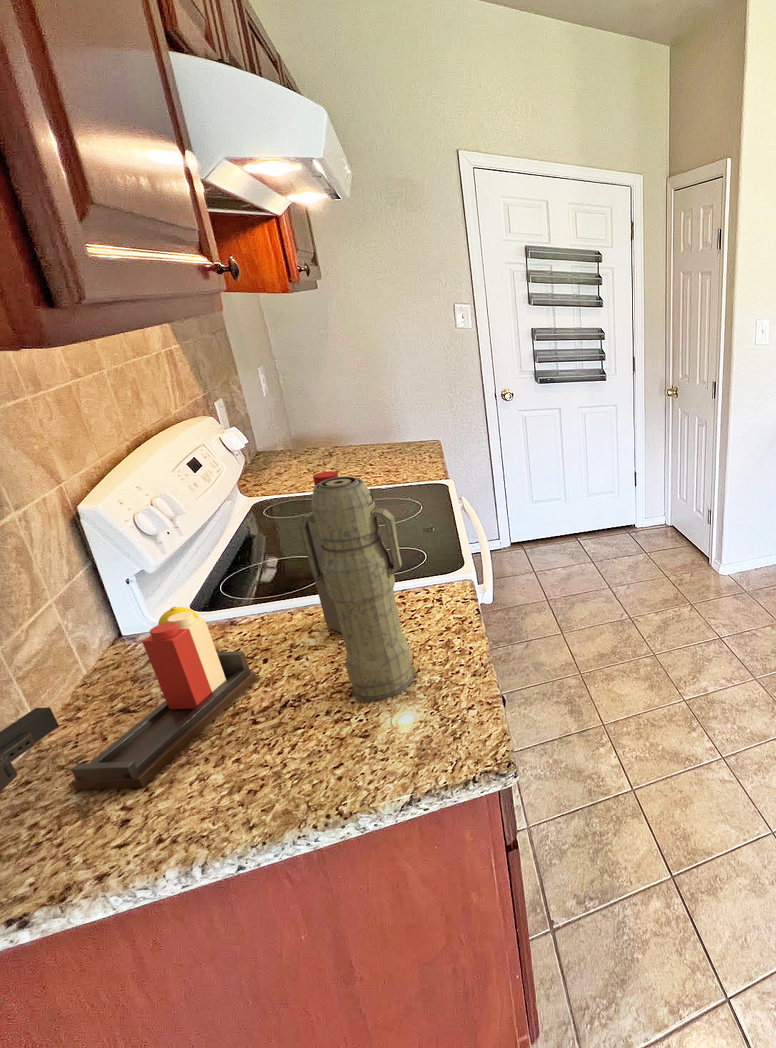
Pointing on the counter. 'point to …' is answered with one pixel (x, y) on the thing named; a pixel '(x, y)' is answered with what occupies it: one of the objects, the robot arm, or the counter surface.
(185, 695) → the marker red
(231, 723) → the counter surface
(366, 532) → the thermos
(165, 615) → the lemon
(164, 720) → the rail
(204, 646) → the marker cream
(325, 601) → the liquor
